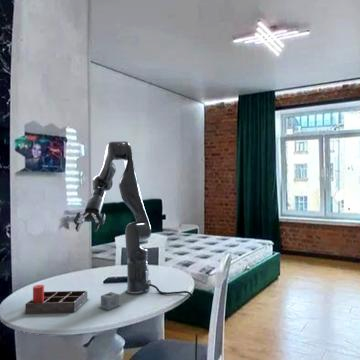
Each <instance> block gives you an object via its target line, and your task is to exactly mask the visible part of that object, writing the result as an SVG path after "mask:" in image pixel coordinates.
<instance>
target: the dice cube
mask: <svg viewBox="0 0 360 360" xmlns="http://www.w3.org/2000/svg"><path fill="white" fill-rule="evenodd" d="M119 306H120V294H119V293H116V292H113V291H110V292H108V293H105V294H102V295H100V308H101V309H104V310H106V311H111V310H113V309H115V308H117V307H119Z"/></svg>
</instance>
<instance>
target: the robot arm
mask: <svg viewBox="0 0 360 360" xmlns="http://www.w3.org/2000/svg"><path fill="white" fill-rule="evenodd" d="M133 155H134V154H133V151H132V146H131V144H130V143H129V142H128V141H123V140H122V141H120V140H119V141H118V140H117V141H115V140H114V141H109V142H108V143H107V145H106V149H105V153H104V157H103V159H104V160H103V165H102V168H101V170H100V172H99V174H98V175H96V176H94V177H93V179H92V192H91V194H90V196H89V199H88V201H87V204H86V207H85V209H84V212H83V213H81V212H77V213H76V214H75V217H74V219H73V223H74V225H75V228H74V230H75V231H76V232H78V233H79V232H80V229H81V226H82V225H84V224H86V223H89V222H91V223H93V222H95V224H94V227H93V231H94V232H98V230H99V227H100V226H102V225H104V224H105V221H106V217H107V216H106V214H105V212H102V210H103V207H104V203H105V198H106V195H107V191H111V189H112V187H113V183H114V182H113V181H114V180H113V178H114V177H115V174H116V172H117V170H116V169H117V168H116V165H115V163H114V160H115V161H120V160H121V161H122V160H123V162H124V170H123V173H122V175H121V178H120V180H119V183H118V188H119V193H120V196H121V197H120V198H121V199H122V201H123V202H124V204H125V205H126V206H127V207H128V208H129V209H130V211H131V212H132V213H133V217H134V219H135V221H133V222H130V223H127V225H126V226H125V230H124V232H125V233H124V237H125V250H126V255H127V257H126V259H127V261H126V262H127V263H126V266H127V268H126V270H127V271H126V272H127V276H126V277H127V279H126V286H127V287H126V292H127V293H128V294H131V295H138V294H143V293H147V291H148V290H149V289H150V288H151V287H152V288H154V289H155V290H156V291H157V292H158V293H159V294H161V295H179V294H187V295H190V296H191V297H194V295H193V293H192V292H190V291H188V290H180V291H169V292H168V291H167V292H166V291H161V290H160V289H159V288H158V286H156V285H154V284H152V280H151V279H149V268H148V251H149V250H148V248H147V247H144V246H141V241H146V240H149V238H150V237H151V235H152V226H151V224H150V221H149V217H148V215H147V212H146V209H145V206H144V202H143V197H142V193H141V188H140V186H139V180H138V177H137V173H136V168H135V163H134V156H133ZM99 218H100V220H99ZM194 341H195V343H194V347H195V348H194V360H198V333H195V339H194Z"/></svg>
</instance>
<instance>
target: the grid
mask: <svg viewBox="0 0 360 360" xmlns="http://www.w3.org/2000/svg"><path fill="white" fill-rule="evenodd" d="M87 300H88V290H64V291H63V290H62V291H61V290H60V291H57V290H56V291H44V302H43V303H33V298H31V299H30V300H29V301H27V302H26V303H25V304H24V305H25V314H54V313H55V314H56V313H57V314H58V313H59V314H60V313H61V314H62V313H75V312H77V310H78V309H79V308H80V307H82V305H83V304H85V302H87Z"/></svg>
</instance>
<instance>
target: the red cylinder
mask: <svg viewBox="0 0 360 360" xmlns="http://www.w3.org/2000/svg"><path fill="white" fill-rule="evenodd" d="M44 292H45V284H37V285H34V286H33V287H32V299H33V303H43V302H44Z"/></svg>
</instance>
